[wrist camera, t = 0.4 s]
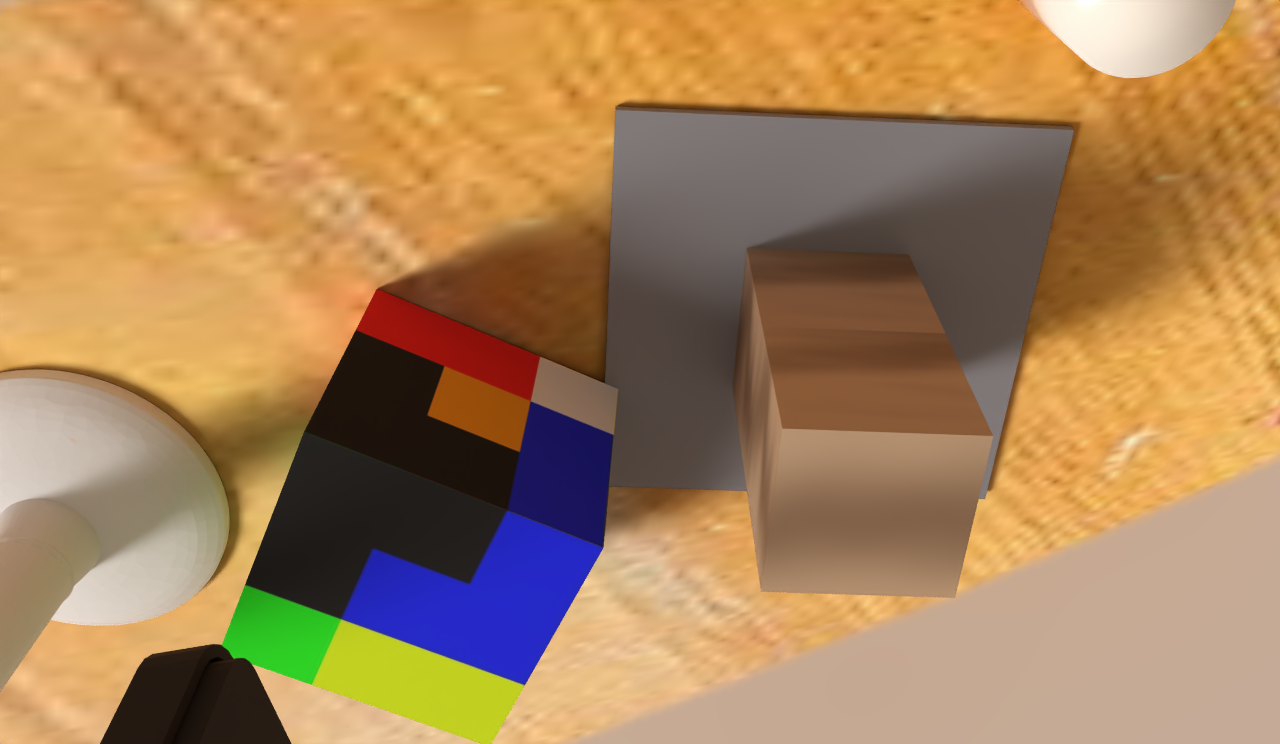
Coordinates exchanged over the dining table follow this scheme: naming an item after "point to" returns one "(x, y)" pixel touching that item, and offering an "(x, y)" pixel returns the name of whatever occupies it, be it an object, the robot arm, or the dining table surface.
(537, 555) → the puzzle toy
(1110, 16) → the ceramic cylinder
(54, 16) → the dining table surface
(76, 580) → the candlestick
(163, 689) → the robot arm
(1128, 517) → the dining table surface
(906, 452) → the tower top
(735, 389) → the block
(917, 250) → the mat
